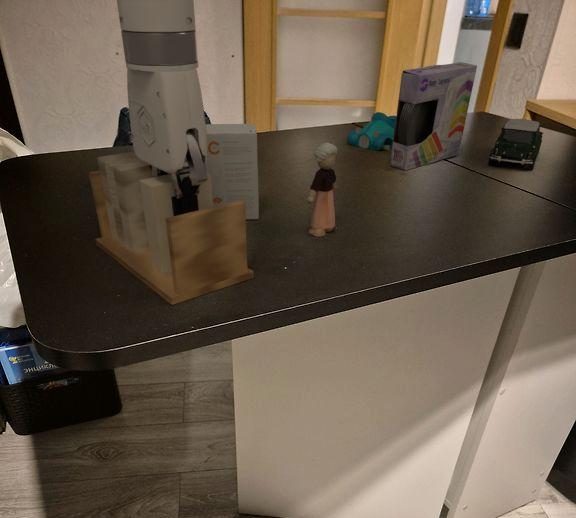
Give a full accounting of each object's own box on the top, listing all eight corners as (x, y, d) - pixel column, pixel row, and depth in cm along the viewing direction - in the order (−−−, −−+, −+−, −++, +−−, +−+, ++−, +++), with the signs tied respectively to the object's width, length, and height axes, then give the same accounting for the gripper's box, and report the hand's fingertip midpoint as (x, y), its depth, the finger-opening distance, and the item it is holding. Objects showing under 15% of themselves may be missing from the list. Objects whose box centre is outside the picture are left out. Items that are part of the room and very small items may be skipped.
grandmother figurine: (326, 241, 80) (332, 150, 72) (302, 237, 81) (305, 147, 73) (341, 223, 86) (348, 138, 78) (318, 220, 87) (323, 135, 79)
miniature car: (538, 152, 122) (549, 113, 117) (531, 173, 109) (543, 130, 104) (497, 148, 125) (506, 109, 120) (485, 167, 112) (495, 125, 107)
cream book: (163, 275, 68) (150, 186, 61) (151, 267, 70) (139, 179, 63) (216, 259, 72) (211, 174, 65) (205, 251, 74) (198, 168, 67)
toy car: (343, 144, 126) (345, 112, 122) (387, 131, 137) (390, 102, 132) (381, 152, 120) (385, 120, 116) (424, 139, 131) (429, 108, 127)
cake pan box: (402, 172, 108) (417, 71, 98) (384, 166, 111) (396, 68, 101) (460, 157, 118) (479, 64, 108) (442, 152, 121) (458, 61, 111)
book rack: (171, 305, 64) (158, 204, 57) (96, 245, 77) (77, 157, 70) (254, 278, 70) (251, 183, 63) (170, 227, 83) (160, 144, 76)
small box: (257, 206, 91) (255, 122, 83) (259, 220, 86) (257, 132, 78) (208, 207, 91) (202, 123, 83) (208, 221, 86) (201, 132, 78)
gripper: (94, 45, 60) (123, 210, 71) (167, 62, 49) (186, 252, 61) (156, 42, 63) (174, 199, 74) (235, 57, 53) (242, 236, 64)
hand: (179, 221), depth 67 cm, fingers closed on cream book, 3 cm apart
